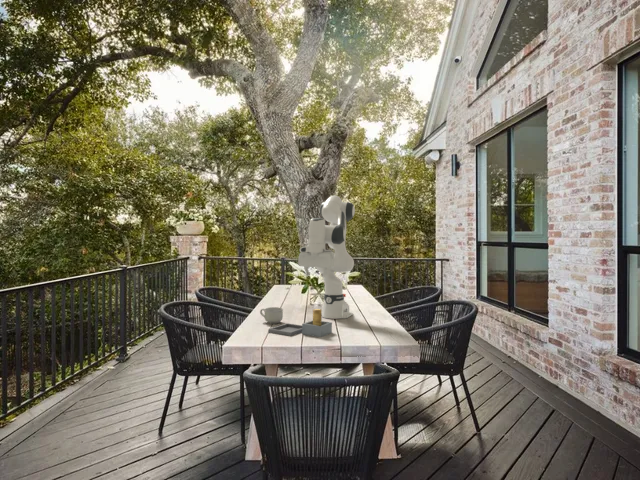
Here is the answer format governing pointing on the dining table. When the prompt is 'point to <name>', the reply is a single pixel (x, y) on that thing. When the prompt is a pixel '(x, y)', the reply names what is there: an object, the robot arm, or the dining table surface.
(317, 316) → the peg
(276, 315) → the teacup
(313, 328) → the grey open box
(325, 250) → the robot arm
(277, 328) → the tray
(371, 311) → the dining table surface
